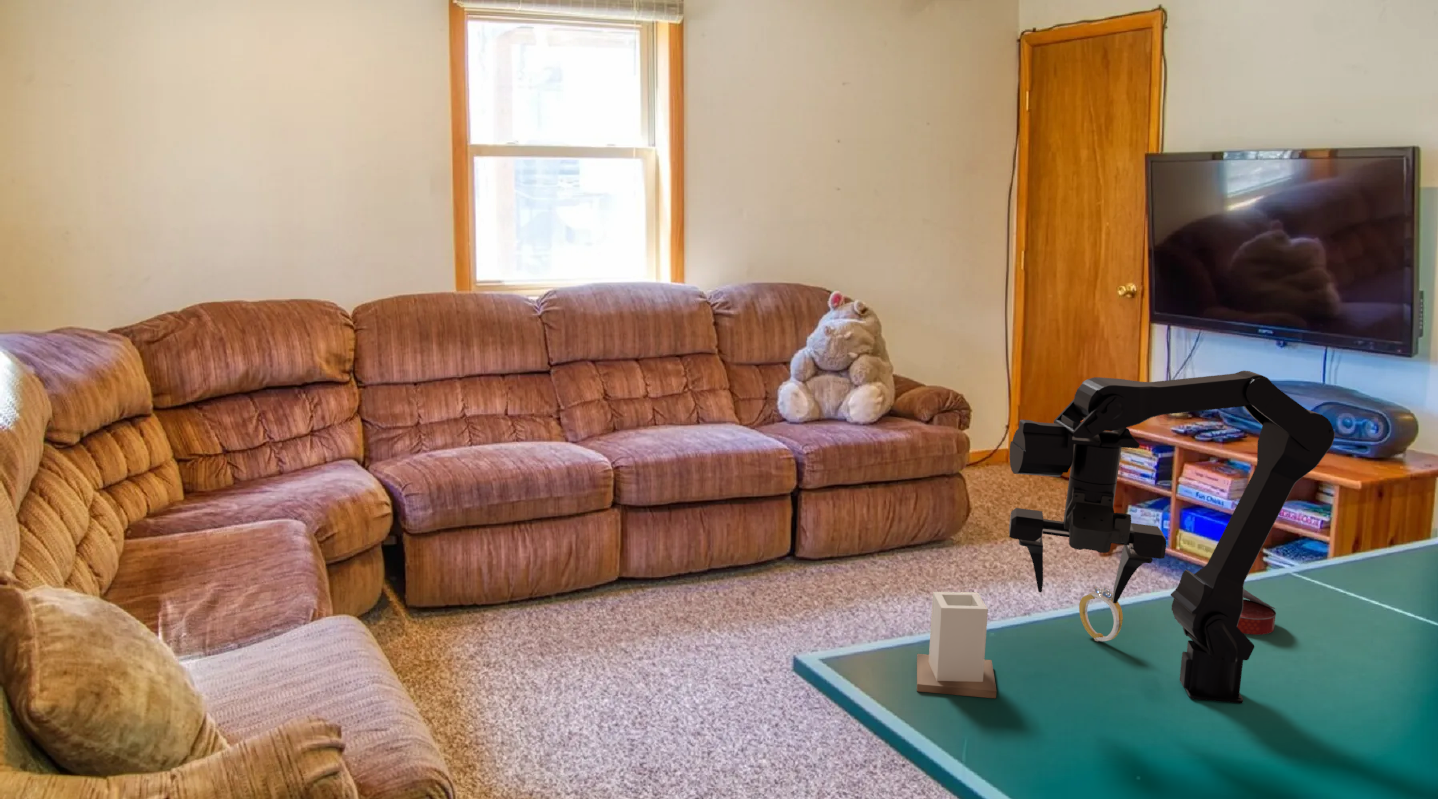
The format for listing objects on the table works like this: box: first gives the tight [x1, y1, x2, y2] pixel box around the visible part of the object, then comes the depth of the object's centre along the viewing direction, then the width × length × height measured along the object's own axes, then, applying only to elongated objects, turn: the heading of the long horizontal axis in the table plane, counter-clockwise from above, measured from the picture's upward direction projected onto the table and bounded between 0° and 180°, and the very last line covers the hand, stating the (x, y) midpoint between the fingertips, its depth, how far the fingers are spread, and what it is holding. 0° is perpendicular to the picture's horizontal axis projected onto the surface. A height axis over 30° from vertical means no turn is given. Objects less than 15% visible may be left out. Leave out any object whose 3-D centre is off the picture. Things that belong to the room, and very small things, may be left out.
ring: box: [1078, 586, 1124, 642], centre depth 167 cm, size 7×3×8 cm, turn 25°
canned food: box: [1237, 588, 1277, 636], centre depth 176 cm, size 10×9×9 cm
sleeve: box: [928, 591, 989, 682], centre depth 153 cm, size 6×6×10 cm
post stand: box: [916, 653, 997, 699], centre depth 154 cm, size 10×10×4 cm
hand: (1076, 597), depth 148 cm, fingers open, 9 cm apart
